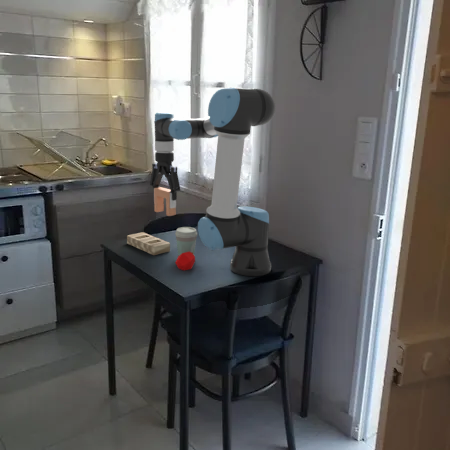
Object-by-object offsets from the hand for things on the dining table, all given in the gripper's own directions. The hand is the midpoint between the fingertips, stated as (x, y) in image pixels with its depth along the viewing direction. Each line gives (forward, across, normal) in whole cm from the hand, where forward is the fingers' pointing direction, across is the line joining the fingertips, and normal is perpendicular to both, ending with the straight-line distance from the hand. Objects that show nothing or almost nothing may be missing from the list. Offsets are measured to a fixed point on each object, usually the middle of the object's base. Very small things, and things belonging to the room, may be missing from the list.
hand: (164, 205), depth 200 cm
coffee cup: (+17, -20, +5) cm, 27 cm away
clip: (+3, 0, 0) cm, 3 cm away
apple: (+17, -28, +11) cm, 34 cm away
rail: (+17, 0, +8) cm, 19 cm away
